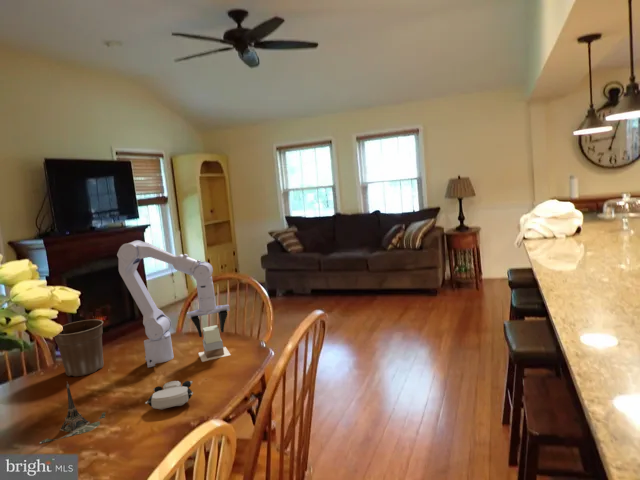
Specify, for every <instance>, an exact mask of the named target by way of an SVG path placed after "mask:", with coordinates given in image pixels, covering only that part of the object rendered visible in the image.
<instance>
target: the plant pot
mask: <svg viewBox="0 0 640 480" xmlns="http://www.w3.org/2000/svg"><path fill="white" fill-rule="evenodd" d="M103 325H104V321H103V320H101V319H85V320H79V321H73V322H70V323H66V324H63V325H62V326H63V331H62V332H61V333H60V334H59V335H57V336H55V337H54V340H55V344H57V348H58V350H59V354H60V357H61V361H62V365H63V368H64V371H65V372H64V373H65V375H66V376H67V377H71V376H73V377H81V376H87V375H90V374H93V373H96V372H98V370H100V369H102V368H103V367H104V365H105V363H104V351H103V350H104V349H103V331H104V330H103Z"/></svg>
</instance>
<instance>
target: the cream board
mask: <svg viewBox="0 0 640 480" xmlns="http://www.w3.org/2000/svg"><path fill="white" fill-rule="evenodd" d="M223 349H224V355H220V356H215V357H211V358H207V357H206V355H205V353H204V351H200V352H198V356H199V358H200V360H201V362H202V363H204V362H207V361H212V360H217V359H220V358H224V357H228V356H231V355H232V354H231V353H230V351H229V350H228V348H227V347H226V346H223Z"/></svg>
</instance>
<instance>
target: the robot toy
mask: <svg viewBox="0 0 640 480" xmlns="http://www.w3.org/2000/svg"><path fill="white" fill-rule="evenodd" d="M192 384H193V380H186V381H183V382H182V383H181V381H179V380H172V381H168V382H166V383H164V384H163V386H158V385H157V386H156V387H154V388H153V389H152V390H153V391H154V393H152V395H150V397H149V398H148V399H147V401H145V405H147V404H148V405H149V407H151V408H152V409H156V410H157V409H158V410H160V411H161V410H165V409H168V408H173V407H182V406H184V405H185V404H186V403H188V402H189V400H190V399H191V398H192V396H193V394H194V392H193V390H191V389H190V388H191V387H192Z"/></svg>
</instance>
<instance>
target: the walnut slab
mask: <svg viewBox="0 0 640 480" xmlns="http://www.w3.org/2000/svg"><path fill="white" fill-rule="evenodd" d="M203 352H204V353H205V355H206V357H207V358H211V357H215V356H220V355H224V349H223V348H220V349H215V350H211V351H207V352H206V350H205V348H204V347H203Z"/></svg>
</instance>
